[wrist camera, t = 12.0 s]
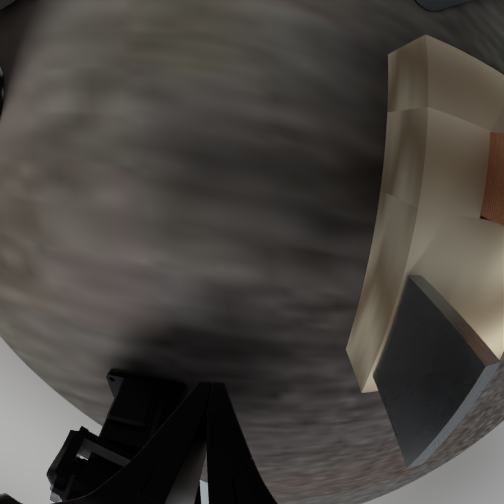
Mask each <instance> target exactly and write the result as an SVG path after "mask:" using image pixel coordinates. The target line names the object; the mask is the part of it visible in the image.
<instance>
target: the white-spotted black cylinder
mask: <svg viewBox="0 0 504 504" xmlns="http://www.w3.org/2000/svg"><path fill="white" fill-rule="evenodd" d="M3 95H4V80H3V73H2V69H1V67H0V114H1V109H2V103H3Z"/></svg>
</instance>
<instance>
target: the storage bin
mask: <svg viewBox="0 0 504 504" xmlns="http://www.w3.org/2000/svg"><path fill="white" fill-rule="evenodd" d="M416 1H417V2H418V3H419V4H420V5H421V6H422V7H424V8H426V9H428V10H431V11H439V10H442V9H445V8H448V7H451V6H455V5H458V4H462V3H465V2H469V1H473V0H416Z"/></svg>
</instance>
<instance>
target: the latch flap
mask: <svg viewBox="0 0 504 504" xmlns="http://www.w3.org/2000/svg"><path fill="white" fill-rule="evenodd" d="M499 364H500V360H499V359H498V358H497V357H496V355H495V354H494V353H493V352H492V350H491V349H490V348H489V347H488V346H487V345H486V343H485V342H484V341H483V340H482V339H481V338H480V336H479V335H478V334H477V333H476V332H475V331H474V330H473V328H472V327H471V326H470V325H469V324H468V323H467V322H466V321H465V320H464V318H463V317H462V316H461V315H460V314H459V313H458V312H457V311H456V310H455V309H454V308H453V307H452V306H451V305H450V303H449V302H448V301H447V300H446V299H445V298H444V297H443V296H442V295H441V294H440V293H439V292H438V291H437V290H436V289H435V288H434V287H433V286H432V285H431V284H430V283H429V282H428V281H427V280H426V279H425V278H424V277H423V276H422V275H407V278H406V282H405V286H404V289H403V292H402V296H401V299H400V302H399V305H398V309H397V312H396V315H395V318H394V321H393V324H392V327H391V329H390V332H389V335H388V338H387V340H386V343H385V346H384V348H383V351H382V354H381V356H380V359H379V361H378V364H377V366H376V368H375V371H374V373H373V379H374V381H375V383H376V386H377V388H378V391H379V393H380V396H381V398H382V401H383V404H384V406H385V409H386V411H387V414H388V416H389V419H390V422H391V424H392V427H393V430H394V433H395V435H396V438H397V441H398V444H399V446H400V449H401V452H402V455H403V458H404V461H405V464H406V467H407V468H410V467H414V466H417V465H420V464H423V463H424V462H425V461H426V460H427V459H428V458H429V457H430V455H431V454H432V453H433V452H434V451H435V450H436V449H437V448H438V447H439V446H440V445H441V444H442V443H443V441H444V440H445V439H446V438H447V437H448V436H449V434H450V433H451V432H452V431H453V430H454V429H455V427H456V426H457V425H458V424H459V422H460V421H461V420H462V419H463V417H464V416H465V415H466V413H467V412H468V411H469V409H470V408H471V407H472V405H473V404H474V403H475V401H476V400H477V398H478V397H479V395H480V394H481V393H482V391H483V390H484V388H485V387H486V385H487V384H488V382H489V380H490V379H491V377H492V376H493V374H494V372H495V371H496V369H497V367H498V366H499Z"/></svg>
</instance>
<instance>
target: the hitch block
mask: <svg viewBox="0 0 504 504" xmlns="http://www.w3.org/2000/svg"><path fill="white" fill-rule="evenodd" d="M490 132H494V133H504V75H503V74H501V73H500V72H498V71H497V70H495V69H493V68H492V67H490V66H488V65H487V64H485V63H483V62H481V61H480V60H478V59H476V58H474V57H472V56H471V55H469V54H467V53H465V52H463V51H461V50H459V49H457V48H455V47H453V46H451V45H449V44H446V43H444V42H442V41H440V40H438V39H435V38H433V37H431V36H428V35H426V34H425V35H423V36H421V37H420V38H418V39H416V40H414V41H412V42H410V43H408V44H406V45H404V46H402V47H401V48H399V49H397V50H395V51H393V52H391V53H390V54H388V107H387V127H386V141H385V153H384V163H383V173H382V181H381V189H380V196H379V203H378V210H377V217H376V223H375V229H374V234H373V240H372V245H371V250H370V255H369V260H368V265H367V270H366V274H365V279H364V283H363V287H362V292H361V296H360V300H359V304H358V308H357V311H356V315H355V319H354V323H353V326H352V330H351V333H350V337H349V340H348V344H347V347H346V351H347V354H348V356H349V359H350V362H351V364H352V367H353V370H354V373H355V375H356V378H357V381H358V384H359V387H360V390H361V393H364V392H373V391H378V388H377V386H376V383H375V381H374V379H373V373H374V371H375V368H376V366H377V364H378V361H379V359H380V356H381V354H382V351H383V348H384V346H385V343H386V340H387V338H388V335H389V332H390V329H391V327H392V324H393V321H394V318H395V315H396V312H397V309H398V305H399V302H400V299H401V296H402V292H403V289H404V286H405V282H406V278H407V275H422V276H423V277H424V278H425V279H426V280H427V281H428V282H429V283H430V284H431V285H432V286H433V287H434V288H435V289H436V290H437V291H438V292H439V293H440V294H441V295H442V296H443V297H444V298H445V299H446V300H447V301H448V302H449V303H450V305H451V306H452V307H453V308H454V309H455V310H456V311H457V312H458V313H459V314H460V315H461V316H462V317H463V318H464V320H465V321H466V322H467V323H468V324H469V325H470V326H471V327H472V328H473V330H474V331H475V332H476V333H477V334H478V335H479V336H480V338H481V339H482V340H483V341H484V342H485V343H486V345H487V346H488V347H489V348H490V349H491V350H492V352H493V353H494V354H495V355H496V357H497V358H498V359H500V357H501V356H502V354H503V352H504V227H503V226H501V225H499V224H497V223H495V222H493V221H491V220H489V219H487V218H485V217H483V216H481V215H480V213H481V208H482V203H483V197H484V191H485V184H486V176H487V168H488V158H489V146H490Z"/></svg>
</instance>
